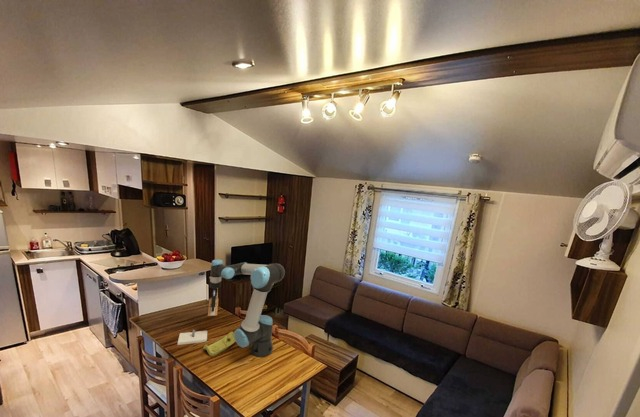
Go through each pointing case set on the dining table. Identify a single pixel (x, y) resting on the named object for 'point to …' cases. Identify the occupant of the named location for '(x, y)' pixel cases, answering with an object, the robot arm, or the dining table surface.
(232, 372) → the dining table surface
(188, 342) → the white board with peg
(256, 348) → the robot arm
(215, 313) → the jaw
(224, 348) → the plastic component
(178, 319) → the dining table surface
